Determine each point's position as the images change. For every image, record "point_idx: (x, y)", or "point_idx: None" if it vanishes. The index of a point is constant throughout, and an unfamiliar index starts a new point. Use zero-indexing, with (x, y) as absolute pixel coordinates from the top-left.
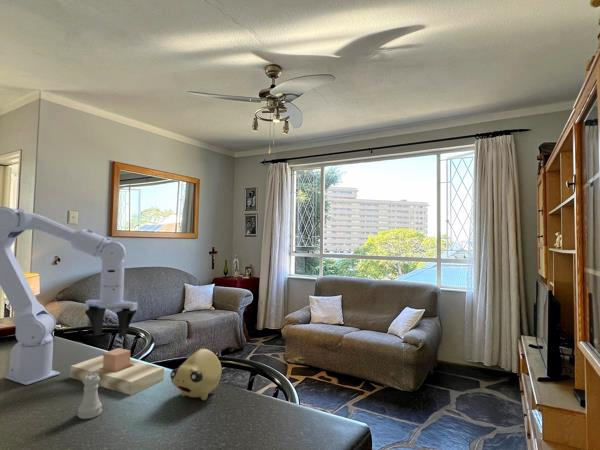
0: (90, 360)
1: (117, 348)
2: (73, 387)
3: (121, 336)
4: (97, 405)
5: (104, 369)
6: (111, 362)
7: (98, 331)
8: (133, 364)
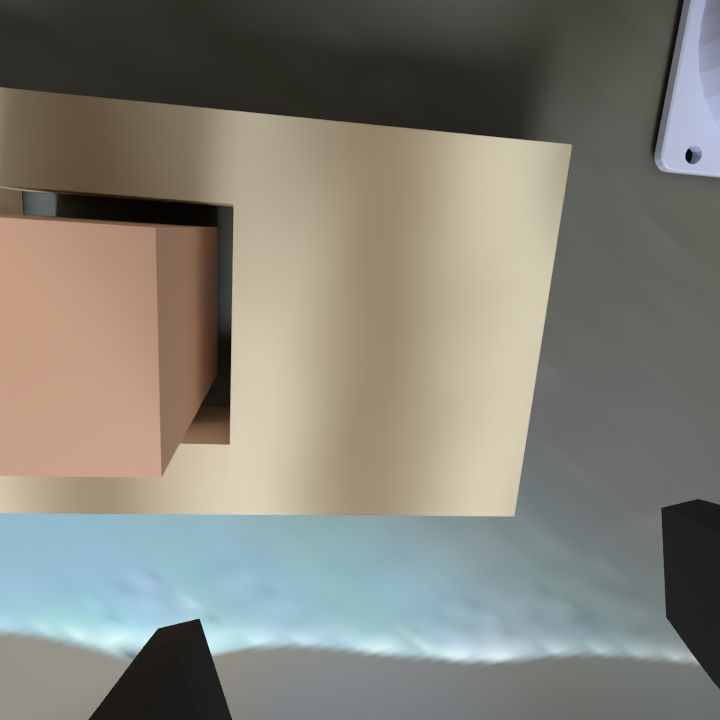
0: (512, 338)
1: (156, 456)
2: (309, 7)
3: (148, 641)
4: None
5: (174, 225)
6: (17, 216)
7: (702, 590)
8: None
